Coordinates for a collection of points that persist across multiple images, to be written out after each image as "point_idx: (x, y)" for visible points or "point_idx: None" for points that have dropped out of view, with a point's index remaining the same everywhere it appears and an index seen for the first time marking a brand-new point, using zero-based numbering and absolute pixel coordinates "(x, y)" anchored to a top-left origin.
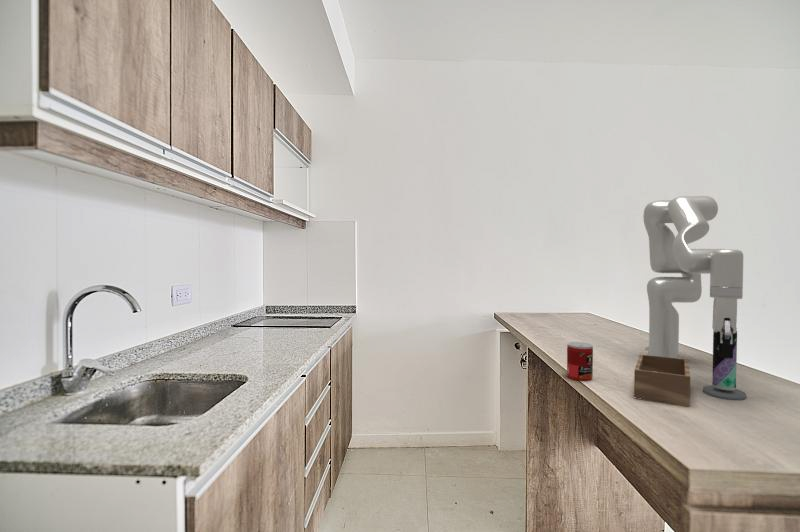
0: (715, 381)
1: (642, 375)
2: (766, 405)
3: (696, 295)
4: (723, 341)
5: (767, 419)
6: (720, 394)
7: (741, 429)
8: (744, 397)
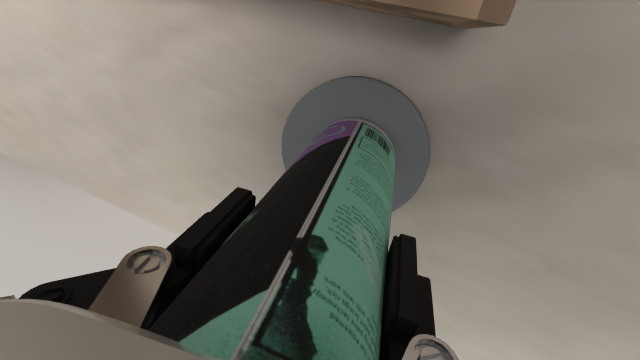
0: (326, 129)
1: None
2: None
3: None
4: (107, 273)
5: (140, 175)
6: (290, 122)
7: (21, 77)
8: None
